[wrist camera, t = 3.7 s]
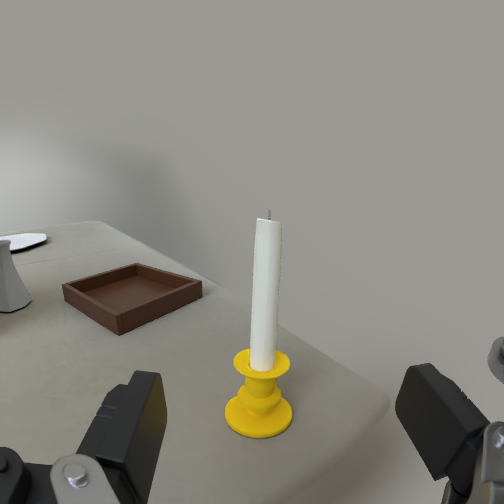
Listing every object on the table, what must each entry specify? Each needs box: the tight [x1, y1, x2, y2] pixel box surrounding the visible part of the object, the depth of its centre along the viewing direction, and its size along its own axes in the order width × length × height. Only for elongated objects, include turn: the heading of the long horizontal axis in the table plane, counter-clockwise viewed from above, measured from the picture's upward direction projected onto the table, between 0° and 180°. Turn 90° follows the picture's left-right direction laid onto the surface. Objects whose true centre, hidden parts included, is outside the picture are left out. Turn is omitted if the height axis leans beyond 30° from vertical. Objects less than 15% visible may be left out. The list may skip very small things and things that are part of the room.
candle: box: [225, 210, 292, 438], centre depth 19 cm, size 5×5×16 cm
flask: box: [0, 240, 32, 312], centre depth 33 cm, size 7×7×10 cm
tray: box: [62, 263, 202, 335], centre depth 41 cm, size 16×16×3 cm
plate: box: [0, 233, 47, 251], centre depth 70 cm, size 28×28×2 cm
